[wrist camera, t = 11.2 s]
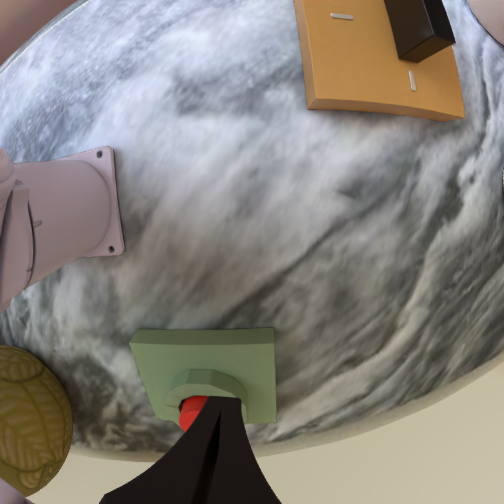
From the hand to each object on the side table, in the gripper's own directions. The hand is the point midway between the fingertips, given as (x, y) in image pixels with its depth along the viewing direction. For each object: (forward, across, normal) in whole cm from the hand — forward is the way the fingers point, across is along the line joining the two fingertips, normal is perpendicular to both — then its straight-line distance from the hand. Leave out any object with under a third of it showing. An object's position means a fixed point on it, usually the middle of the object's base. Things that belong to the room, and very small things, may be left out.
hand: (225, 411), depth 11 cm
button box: (+10, +3, +7) cm, 13 cm away
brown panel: (+10, -9, -20) cm, 24 cm away
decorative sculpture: (+10, +26, +14) cm, 31 cm away
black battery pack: (+7, -10, -21) cm, 24 cm away
